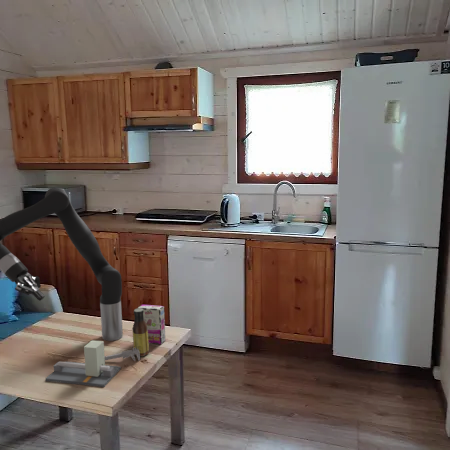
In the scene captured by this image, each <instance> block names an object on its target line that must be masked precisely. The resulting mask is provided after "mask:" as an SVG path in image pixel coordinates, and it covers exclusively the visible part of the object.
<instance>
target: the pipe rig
mask: <svg viewBox="0 0 450 450" xmlns="http://www.w3.org/2000/svg"><path fill="white" fill-rule="evenodd" d="M52 366H53V372H52V373H50V374H49V375H48V376H47V377H45V382H52V383H53V382H54V383H61V384H63V383H64V384H72V385H80V386H81V385H82V386H91V387H102V388H105V387H106V386H107V385H108V384H109V382H111V380H113V378H114V377H115V376H116V375H117V374H118V373H119V371H121V369H122V368H121V366H118V365H108V364H105V366H102V365H101V366H100V371H103V372H102V373H101V374H100V375H99V376H98V377H96V376H86V370H85V362H77V361H57V362H56V363H55V364H54V365H52Z"/></svg>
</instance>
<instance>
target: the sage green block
mask: <svg viewBox="0 0 450 450" xmlns="http://www.w3.org/2000/svg"><path fill="white" fill-rule="evenodd" d="M104 341H105V340H104ZM104 341H103V340H90V341H89V342H88V343H87V344H86V345H84V346H83V352H84V354H83V355H84V363H85V370H86V376H96V377H98V376H99V375H100V374H101V373H102V372H103V371H100V366H101V365H102V366H105V365H106V360H105V356H106V355H105V342H104Z"/></svg>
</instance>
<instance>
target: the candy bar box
mask: <svg viewBox="0 0 450 450" xmlns="http://www.w3.org/2000/svg"><path fill="white" fill-rule="evenodd" d="M138 308H142V309H143V310H144V313H143V316H144V321H145V322H146V324H147V330H148V344H154V345H155V344H156V345H162V344H163V343H164V342H165V341H166V323H165V322H166V319H165V306H163V305H153V304H152V305H151V304H141V305H139V306H138V307H137V309H138Z"/></svg>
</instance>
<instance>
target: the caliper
mask: <svg viewBox="0 0 450 450" xmlns="http://www.w3.org/2000/svg"><path fill="white" fill-rule="evenodd" d="M135 354H136V355H135ZM129 357H131V359H132V360H133V361H134V362H136V360H138V362H139V361H140V359H141V356H140V352H139V350H138V349H137V348H136V347H135V348H134V346H132V349H128V350H124V351H121V352H119V353H115V354H109V355H105V361H109V360H114V359H119V358H122V359H126V358H129ZM136 357H137V359H136Z"/></svg>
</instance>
